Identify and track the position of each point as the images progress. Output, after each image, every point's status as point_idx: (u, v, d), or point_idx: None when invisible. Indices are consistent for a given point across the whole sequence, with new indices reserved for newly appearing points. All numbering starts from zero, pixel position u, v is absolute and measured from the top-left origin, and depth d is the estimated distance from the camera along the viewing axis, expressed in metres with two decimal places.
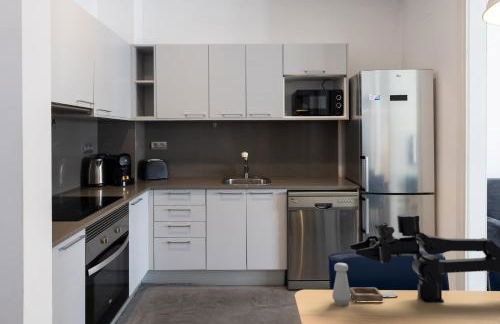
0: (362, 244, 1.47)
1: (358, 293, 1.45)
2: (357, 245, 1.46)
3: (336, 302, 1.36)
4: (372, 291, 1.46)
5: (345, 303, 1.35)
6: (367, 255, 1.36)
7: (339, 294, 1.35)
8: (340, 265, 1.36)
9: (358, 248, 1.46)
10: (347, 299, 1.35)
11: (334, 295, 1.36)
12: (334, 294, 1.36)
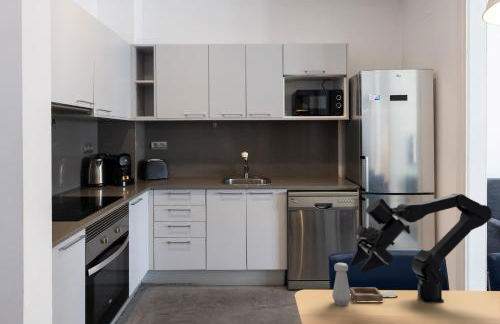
0: (357, 255, 1.43)
1: (358, 293, 1.45)
2: (355, 259, 1.43)
3: (336, 302, 1.36)
4: (372, 291, 1.46)
5: (345, 303, 1.35)
6: (371, 267, 1.33)
7: (339, 294, 1.35)
8: (340, 265, 1.36)
9: (357, 260, 1.43)
10: (347, 299, 1.35)
11: (334, 295, 1.36)
12: (334, 294, 1.36)
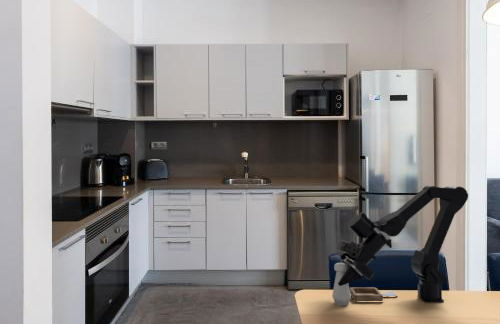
0: None
1: (358, 293, 1.45)
2: None
3: (336, 302, 1.36)
4: (372, 291, 1.46)
5: (345, 303, 1.35)
6: (349, 280, 1.35)
7: (339, 294, 1.35)
8: (340, 265, 1.36)
9: None
10: (347, 299, 1.35)
11: (334, 295, 1.36)
12: (334, 294, 1.36)
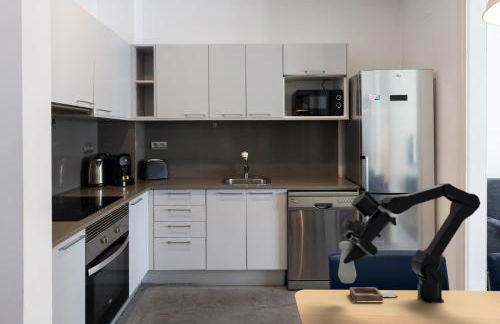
0: None
1: (358, 293, 1.45)
2: None
3: (342, 280, 1.38)
4: (372, 291, 1.46)
5: (350, 281, 1.37)
6: (354, 257, 1.36)
7: (344, 272, 1.36)
8: (345, 243, 1.37)
9: None
10: (352, 277, 1.36)
11: (339, 273, 1.38)
12: (339, 272, 1.38)
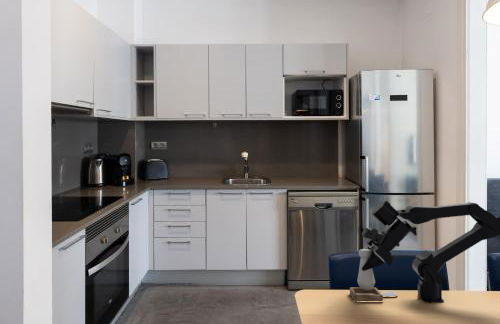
0: None
1: (358, 293, 1.45)
2: None
3: (360, 286, 1.42)
4: (372, 291, 1.46)
5: (369, 287, 1.41)
6: (372, 265, 1.40)
7: (362, 278, 1.41)
8: (363, 251, 1.42)
9: None
10: (370, 284, 1.40)
11: (358, 279, 1.42)
12: (358, 278, 1.42)
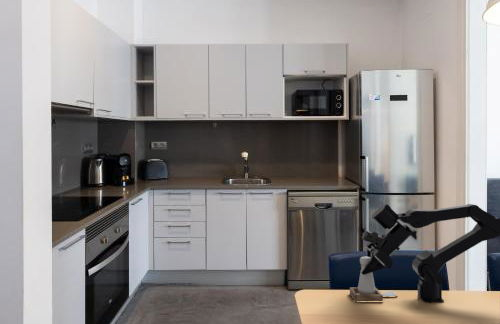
0: None
1: (358, 293, 1.45)
2: None
3: (361, 294, 1.42)
4: None
5: None
6: (372, 269, 1.39)
7: (363, 286, 1.41)
8: (365, 259, 1.41)
9: None
10: (371, 291, 1.40)
11: (359, 287, 1.42)
12: (359, 286, 1.42)
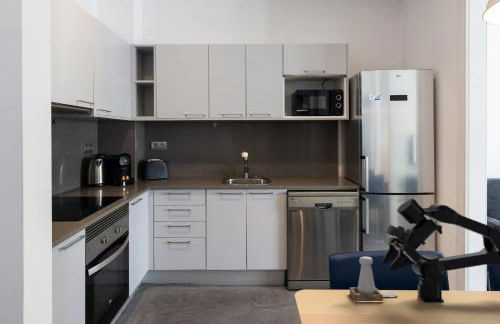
0: (389, 253, 1.46)
1: (358, 293, 1.45)
2: (386, 257, 1.46)
3: (361, 294, 1.42)
4: None
5: None
6: (400, 265, 1.36)
7: (363, 286, 1.41)
8: (364, 258, 1.41)
9: (389, 259, 1.46)
10: (371, 291, 1.40)
11: (359, 287, 1.42)
12: (359, 286, 1.42)
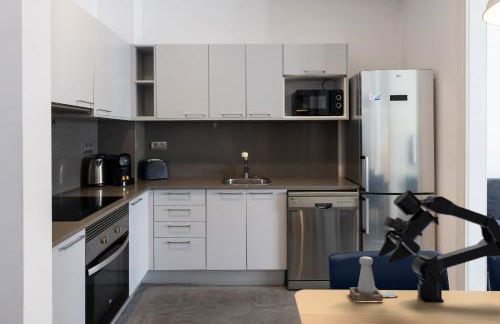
0: (386, 245, 1.46)
1: (358, 293, 1.45)
2: (383, 250, 1.45)
3: (361, 294, 1.42)
4: None
5: None
6: (399, 257, 1.35)
7: (363, 286, 1.41)
8: (364, 258, 1.41)
9: (386, 251, 1.45)
10: (371, 291, 1.40)
11: (359, 287, 1.42)
12: (359, 286, 1.42)
